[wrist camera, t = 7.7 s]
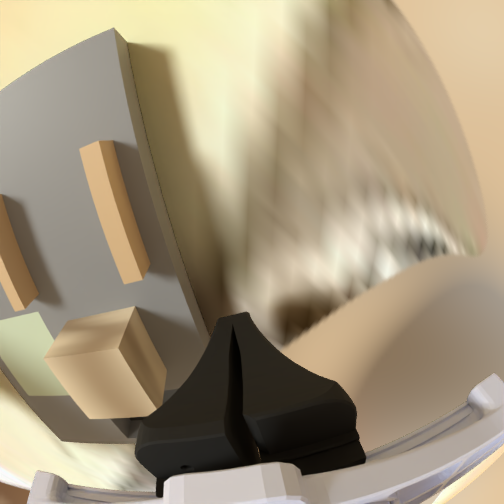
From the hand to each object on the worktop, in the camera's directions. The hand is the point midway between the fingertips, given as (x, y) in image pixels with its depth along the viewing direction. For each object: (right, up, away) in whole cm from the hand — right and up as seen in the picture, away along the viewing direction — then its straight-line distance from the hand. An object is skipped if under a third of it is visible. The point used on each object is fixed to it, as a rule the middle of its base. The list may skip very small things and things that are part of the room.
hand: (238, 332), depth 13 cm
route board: (-10, +1, +1) cm, 10 cm away
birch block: (-6, -1, 0) cm, 6 cm away
